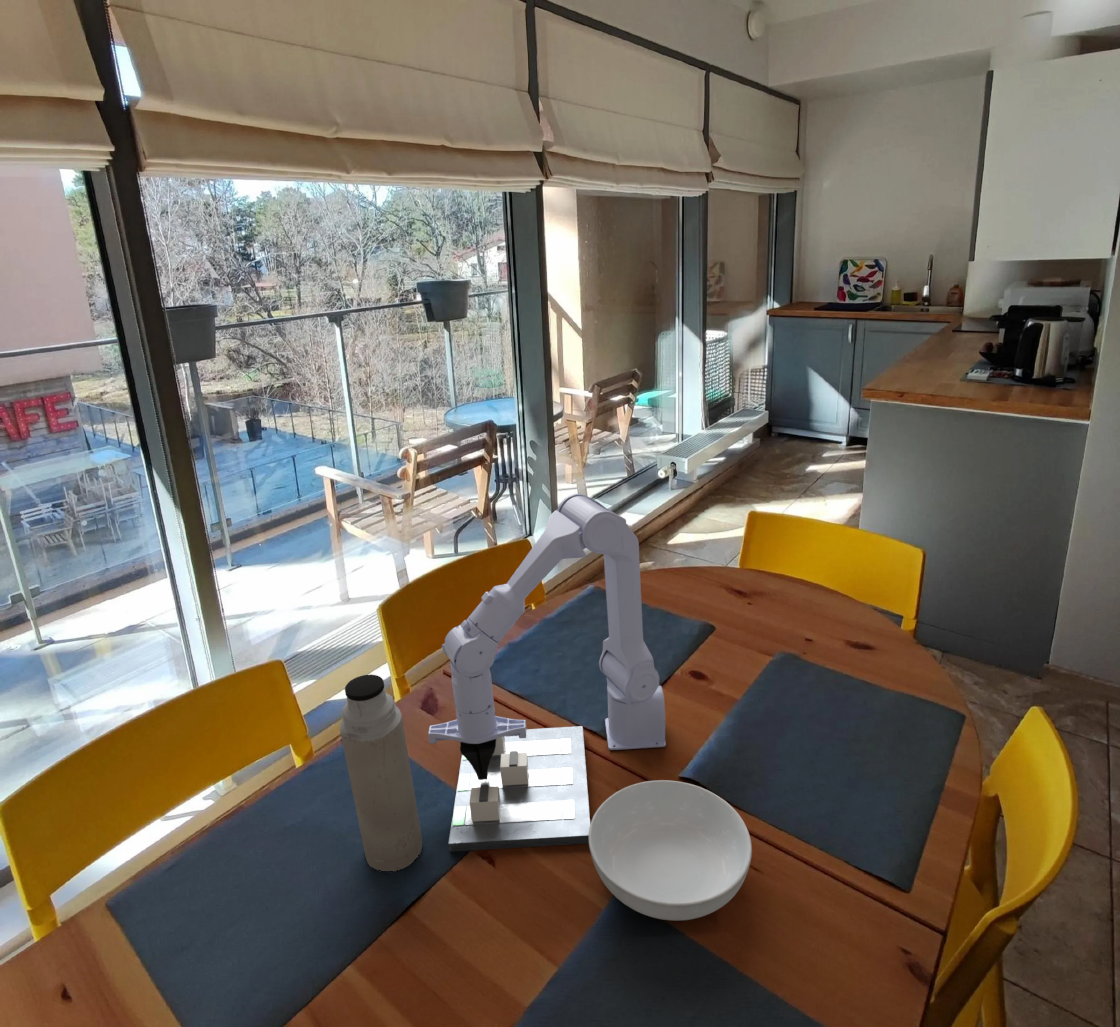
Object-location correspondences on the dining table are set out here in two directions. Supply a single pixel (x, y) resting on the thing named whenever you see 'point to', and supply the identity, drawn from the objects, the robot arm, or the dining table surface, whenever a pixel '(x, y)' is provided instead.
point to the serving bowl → (670, 849)
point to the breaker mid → (514, 768)
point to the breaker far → (499, 746)
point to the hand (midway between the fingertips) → (483, 775)
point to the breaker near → (485, 803)
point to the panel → (529, 796)
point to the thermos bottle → (380, 775)
